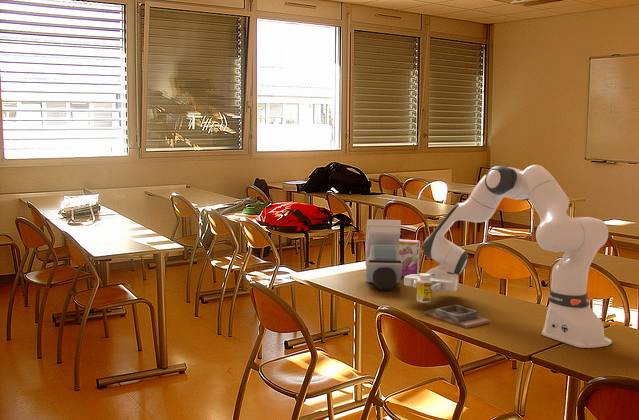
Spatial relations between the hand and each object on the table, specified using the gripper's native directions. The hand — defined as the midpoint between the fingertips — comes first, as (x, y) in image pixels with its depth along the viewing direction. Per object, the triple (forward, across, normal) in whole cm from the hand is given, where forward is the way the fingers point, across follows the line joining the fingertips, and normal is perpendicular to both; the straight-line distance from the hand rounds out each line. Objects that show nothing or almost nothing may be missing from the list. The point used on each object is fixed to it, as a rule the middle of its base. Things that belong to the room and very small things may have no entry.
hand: (423, 286), depth 252 cm
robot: (-27, -28, +8) cm, 40 cm away
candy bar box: (-47, -26, +8) cm, 54 cm away
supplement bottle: (-1, 0, +6) cm, 6 cm away
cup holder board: (+5, +14, +9) cm, 17 cm away
